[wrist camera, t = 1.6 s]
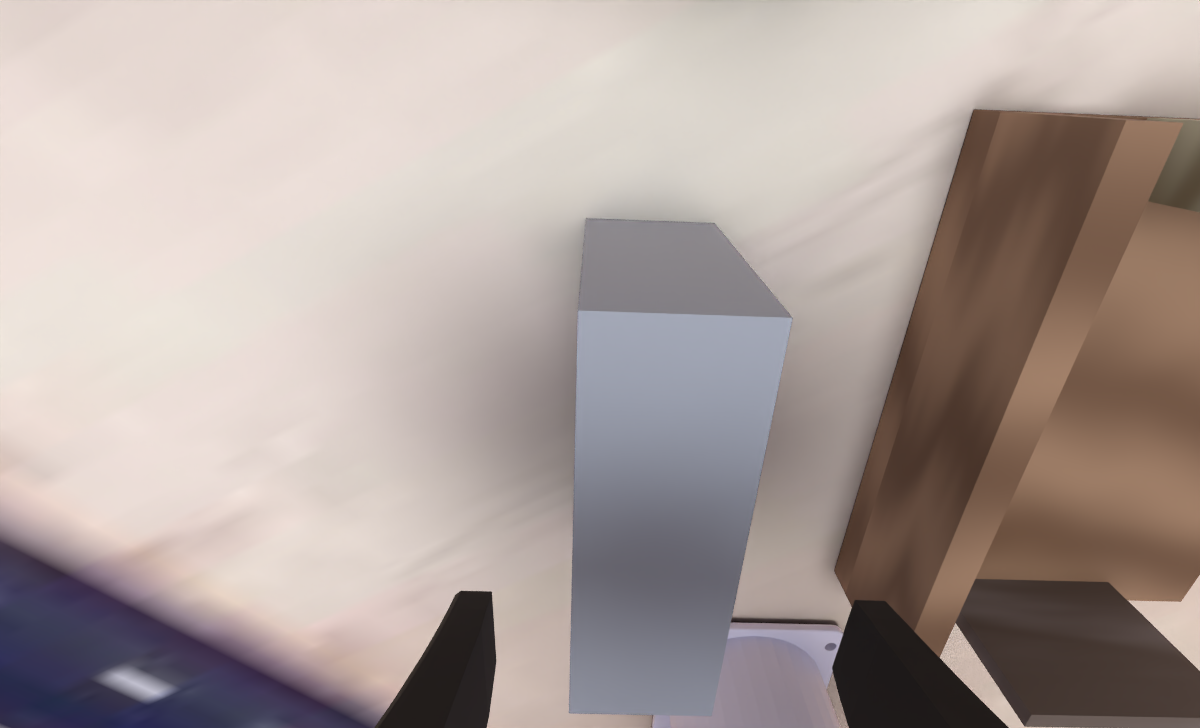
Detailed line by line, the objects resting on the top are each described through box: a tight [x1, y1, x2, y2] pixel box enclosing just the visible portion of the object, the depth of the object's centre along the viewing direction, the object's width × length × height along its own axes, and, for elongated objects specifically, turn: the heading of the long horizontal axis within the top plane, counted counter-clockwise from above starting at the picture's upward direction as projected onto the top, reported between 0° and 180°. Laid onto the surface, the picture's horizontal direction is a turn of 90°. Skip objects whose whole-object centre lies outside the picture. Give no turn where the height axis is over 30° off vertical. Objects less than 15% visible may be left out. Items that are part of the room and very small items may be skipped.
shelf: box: [835, 110, 1200, 728], centre depth 17 cm, size 18×14×7 cm
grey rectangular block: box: [569, 218, 793, 716], centre depth 17 cm, size 4×12×8 cm, turn 178°
